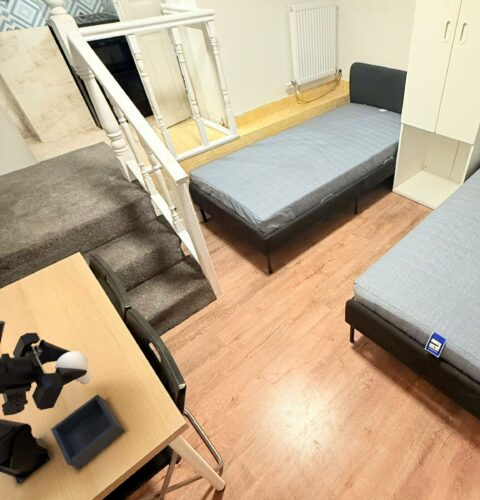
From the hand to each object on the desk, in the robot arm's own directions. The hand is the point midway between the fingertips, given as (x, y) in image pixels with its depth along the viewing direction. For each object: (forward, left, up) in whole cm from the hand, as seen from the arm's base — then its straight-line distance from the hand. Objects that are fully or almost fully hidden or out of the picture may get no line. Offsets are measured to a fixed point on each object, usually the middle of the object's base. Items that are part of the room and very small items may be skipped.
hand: (81, 363), depth 78 cm
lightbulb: (-2, 0, -7) cm, 7 cm away
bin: (-7, -9, -13) cm, 17 cm away
